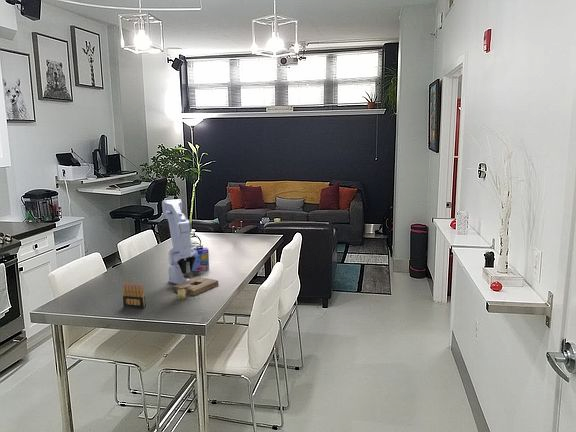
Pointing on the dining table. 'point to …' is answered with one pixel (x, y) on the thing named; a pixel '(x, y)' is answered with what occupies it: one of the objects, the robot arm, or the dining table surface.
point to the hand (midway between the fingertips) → (186, 272)
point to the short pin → (181, 294)
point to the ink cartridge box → (201, 259)
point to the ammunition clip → (133, 295)
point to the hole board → (196, 285)
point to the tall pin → (187, 270)
